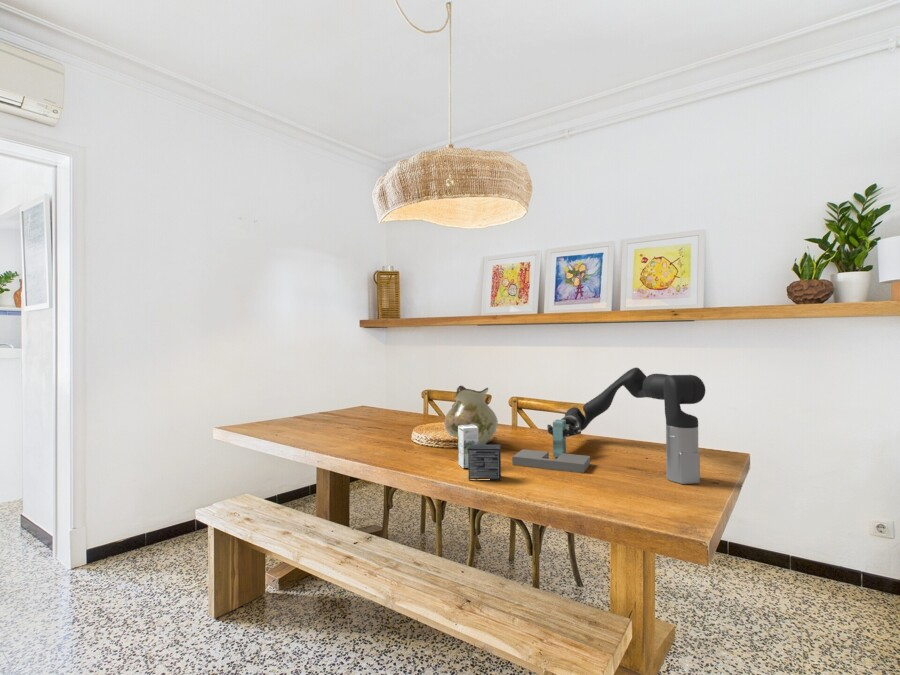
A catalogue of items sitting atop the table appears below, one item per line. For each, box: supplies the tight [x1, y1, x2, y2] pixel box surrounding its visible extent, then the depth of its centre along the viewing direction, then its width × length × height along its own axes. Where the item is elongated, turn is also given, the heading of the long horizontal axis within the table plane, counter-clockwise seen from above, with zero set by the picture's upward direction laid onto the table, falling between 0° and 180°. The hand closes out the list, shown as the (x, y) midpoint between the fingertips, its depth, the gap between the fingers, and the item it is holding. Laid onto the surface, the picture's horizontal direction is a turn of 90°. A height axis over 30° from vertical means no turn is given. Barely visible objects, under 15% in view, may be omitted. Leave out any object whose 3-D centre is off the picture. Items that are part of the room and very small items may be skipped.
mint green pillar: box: [552, 419, 567, 458], centre depth 182 cm, size 6×4×13 cm, turn 154°
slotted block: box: [511, 448, 591, 474], centre depth 171 cm, size 12×25×3 cm, turn 64°
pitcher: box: [444, 385, 498, 445], centre depth 202 cm, size 22×24×25 cm
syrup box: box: [457, 425, 478, 469], centre depth 169 cm, size 6×6×14 cm
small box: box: [467, 444, 502, 481], centre depth 155 cm, size 11×6×10 cm, turn 84°
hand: (558, 433), depth 180 cm, fingers closed on mint green pillar, 3 cm apart
